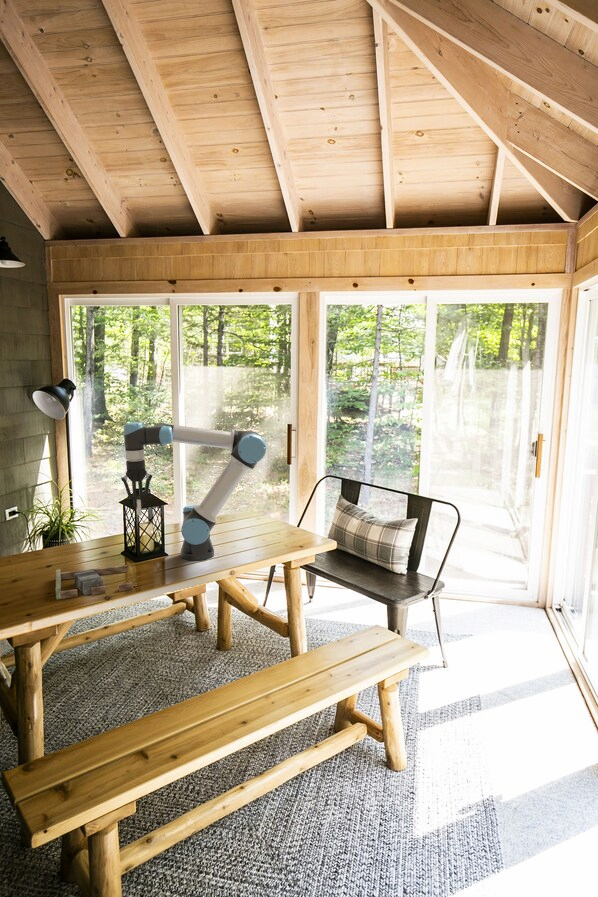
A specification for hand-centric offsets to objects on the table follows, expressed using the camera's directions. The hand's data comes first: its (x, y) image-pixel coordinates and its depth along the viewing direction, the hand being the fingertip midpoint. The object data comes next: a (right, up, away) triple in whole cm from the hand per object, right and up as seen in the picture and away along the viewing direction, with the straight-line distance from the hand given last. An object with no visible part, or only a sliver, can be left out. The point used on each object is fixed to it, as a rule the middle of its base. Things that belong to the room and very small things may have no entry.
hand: (139, 514), depth 259 cm
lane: (-13, -26, -16) cm, 33 cm away
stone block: (-14, -27, -19) cm, 36 cm away
